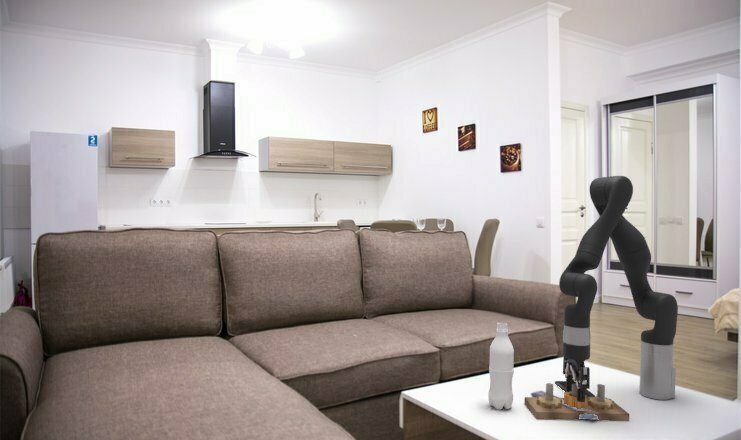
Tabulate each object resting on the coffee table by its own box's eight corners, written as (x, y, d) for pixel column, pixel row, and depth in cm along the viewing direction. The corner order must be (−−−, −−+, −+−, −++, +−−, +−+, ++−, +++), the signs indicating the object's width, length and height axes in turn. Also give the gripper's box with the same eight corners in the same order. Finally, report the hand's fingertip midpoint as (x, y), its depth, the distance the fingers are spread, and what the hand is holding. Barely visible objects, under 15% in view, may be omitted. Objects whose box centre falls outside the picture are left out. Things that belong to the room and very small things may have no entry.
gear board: (610, 405, 161) (610, 379, 160) (629, 421, 149) (630, 392, 148) (524, 403, 161) (525, 377, 161) (536, 419, 149) (537, 390, 149)
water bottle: (496, 400, 163) (498, 319, 162) (517, 407, 158) (519, 323, 157) (483, 406, 158) (485, 323, 157) (504, 413, 153) (506, 327, 152)
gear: (581, 401, 158) (581, 391, 158) (589, 409, 152) (590, 398, 151) (560, 401, 158) (560, 391, 158) (568, 408, 152) (568, 398, 152)
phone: (571, 396, 166) (553, 380, 181) (571, 399, 166) (553, 384, 181) (596, 396, 166) (576, 381, 181) (596, 400, 166) (576, 384, 181)
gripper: (599, 347, 147) (598, 405, 147) (579, 335, 161) (578, 388, 162) (572, 347, 147) (571, 405, 147) (555, 335, 161) (554, 388, 162)
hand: (575, 396), depth 155 cm, fingers open, 8 cm apart
